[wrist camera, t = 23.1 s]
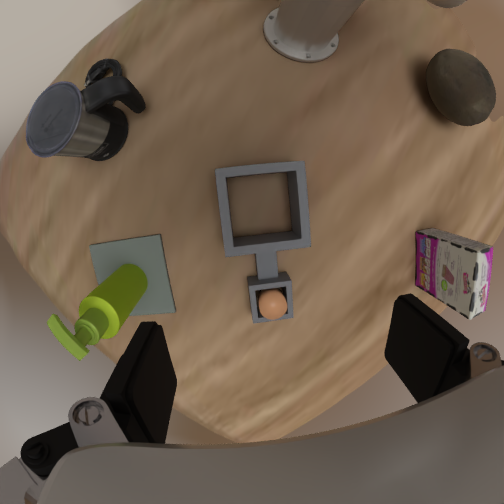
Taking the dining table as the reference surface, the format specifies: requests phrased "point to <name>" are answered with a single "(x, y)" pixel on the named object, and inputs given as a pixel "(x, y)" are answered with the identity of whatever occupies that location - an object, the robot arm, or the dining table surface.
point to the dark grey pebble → (460, 87)
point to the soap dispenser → (102, 310)
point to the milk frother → (83, 115)
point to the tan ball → (272, 303)
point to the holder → (267, 243)
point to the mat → (145, 257)
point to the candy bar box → (454, 270)
